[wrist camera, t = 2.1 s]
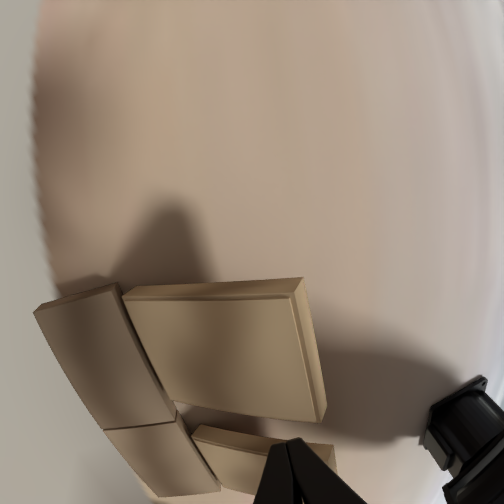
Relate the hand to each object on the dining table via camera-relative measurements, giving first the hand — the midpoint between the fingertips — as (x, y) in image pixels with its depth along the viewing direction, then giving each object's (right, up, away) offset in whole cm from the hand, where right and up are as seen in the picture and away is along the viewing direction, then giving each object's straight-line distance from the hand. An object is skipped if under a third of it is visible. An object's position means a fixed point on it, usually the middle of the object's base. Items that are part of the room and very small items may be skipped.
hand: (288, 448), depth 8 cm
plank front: (-2, +1, +8) cm, 8 cm away
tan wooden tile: (-9, -5, +11) cm, 15 cm away
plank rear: (0, -9, +11) cm, 14 cm away
